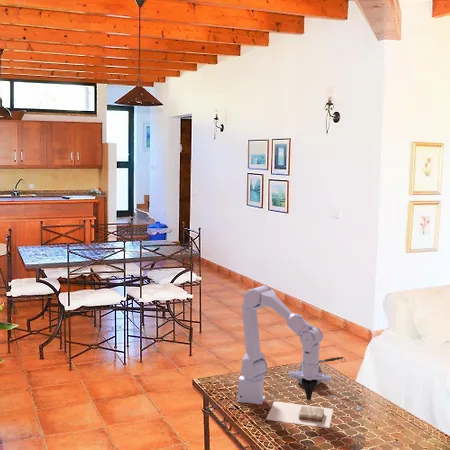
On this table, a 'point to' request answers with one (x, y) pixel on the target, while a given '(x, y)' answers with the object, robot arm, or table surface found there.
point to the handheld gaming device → (356, 405)
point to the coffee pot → (318, 368)
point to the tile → (311, 414)
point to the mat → (296, 414)
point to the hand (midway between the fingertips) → (309, 399)
